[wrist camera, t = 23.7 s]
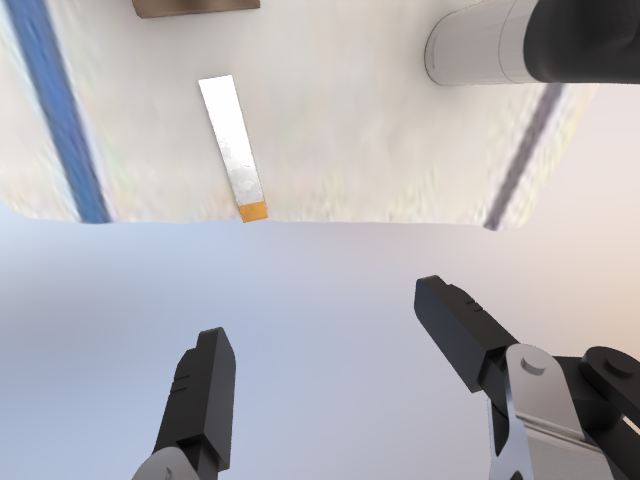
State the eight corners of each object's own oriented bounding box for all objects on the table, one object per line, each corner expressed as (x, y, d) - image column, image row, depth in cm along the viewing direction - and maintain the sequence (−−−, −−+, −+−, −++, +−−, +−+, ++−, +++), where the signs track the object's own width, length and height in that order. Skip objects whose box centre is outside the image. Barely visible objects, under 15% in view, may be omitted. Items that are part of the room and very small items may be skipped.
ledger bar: (232, 77, 36) (231, 75, 33) (267, 209, 46) (267, 217, 43) (202, 81, 35) (198, 80, 32) (244, 214, 46) (243, 222, 43)
